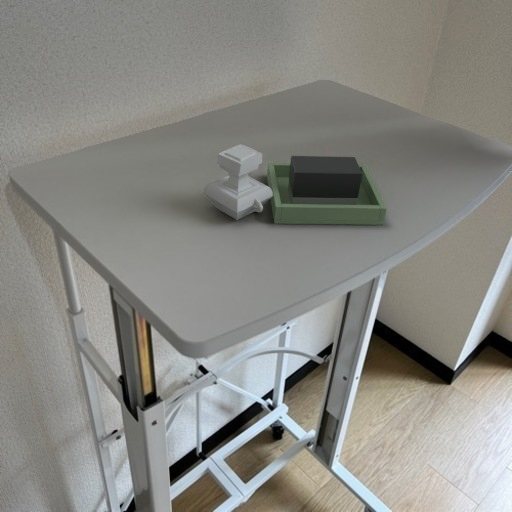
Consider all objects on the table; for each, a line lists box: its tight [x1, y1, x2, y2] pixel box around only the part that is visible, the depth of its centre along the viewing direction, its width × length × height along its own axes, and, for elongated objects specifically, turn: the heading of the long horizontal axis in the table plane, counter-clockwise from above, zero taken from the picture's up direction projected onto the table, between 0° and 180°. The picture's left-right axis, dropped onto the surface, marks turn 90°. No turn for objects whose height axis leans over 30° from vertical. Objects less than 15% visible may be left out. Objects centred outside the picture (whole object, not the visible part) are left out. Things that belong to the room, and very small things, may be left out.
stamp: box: [202, 143, 273, 221], centre depth 72 cm, size 9×7×8 cm
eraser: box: [288, 155, 362, 205], centre depth 76 cm, size 9×5×5 cm, turn 93°
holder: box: [266, 162, 387, 226], centre depth 77 cm, size 15×13×3 cm
